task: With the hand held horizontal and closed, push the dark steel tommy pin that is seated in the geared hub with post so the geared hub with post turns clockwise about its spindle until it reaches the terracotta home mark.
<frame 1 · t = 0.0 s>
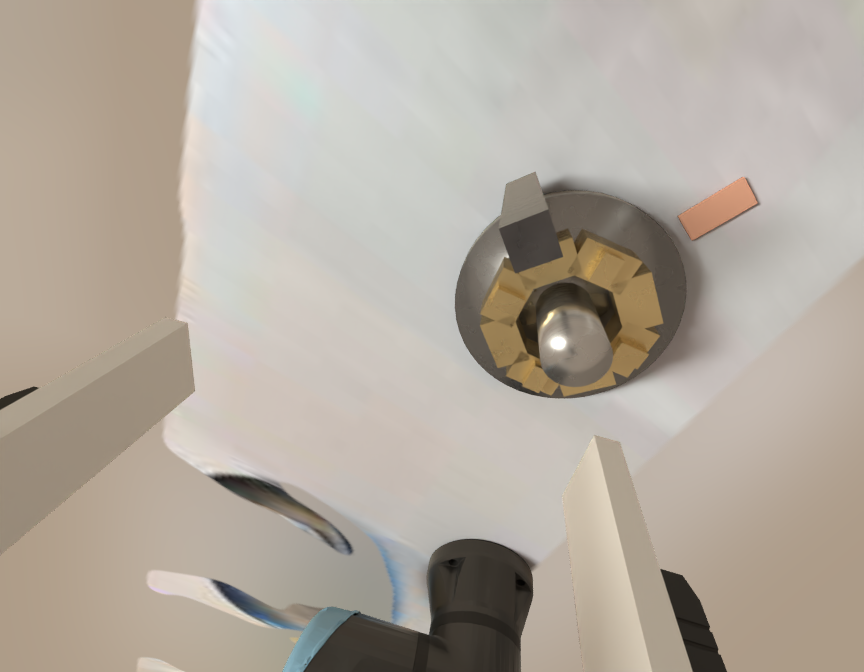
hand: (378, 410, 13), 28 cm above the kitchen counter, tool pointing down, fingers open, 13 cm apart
geared hub with post: (564, 322, 30), point 10 cm above the kitchen counter, hinge at 35.0°
home mark: (715, 209, 34), on the kitchen counter
flange: (561, 300, 39), on the kitchen counter
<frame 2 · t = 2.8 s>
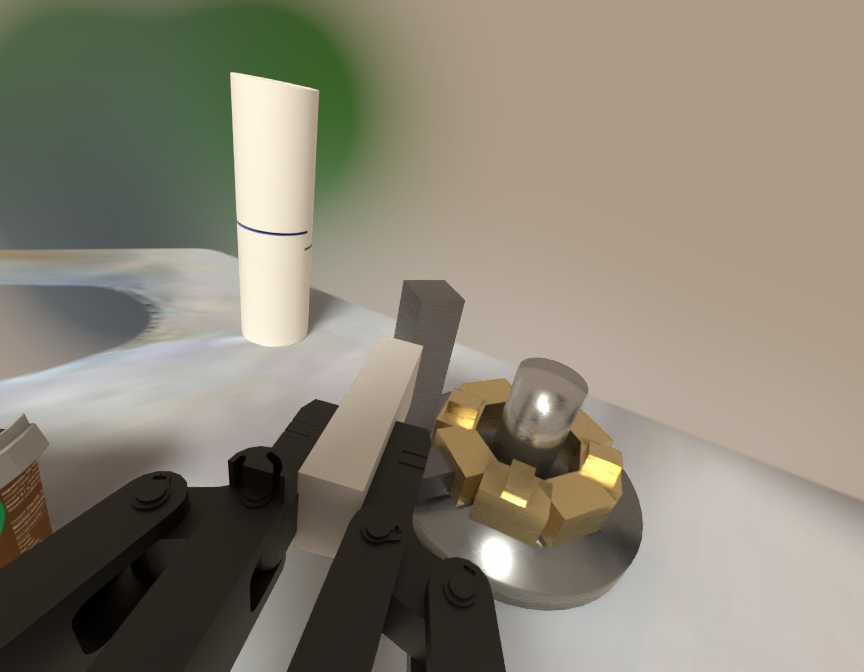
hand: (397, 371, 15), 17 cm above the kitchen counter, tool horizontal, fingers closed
geared hub with post: (520, 390, 29), point 10 cm above the kitchen counter, hinge at 35.0°
flange: (509, 482, 35), on the kitchen counter
cylindrical container: (275, 331, 48), on the kitchen counter
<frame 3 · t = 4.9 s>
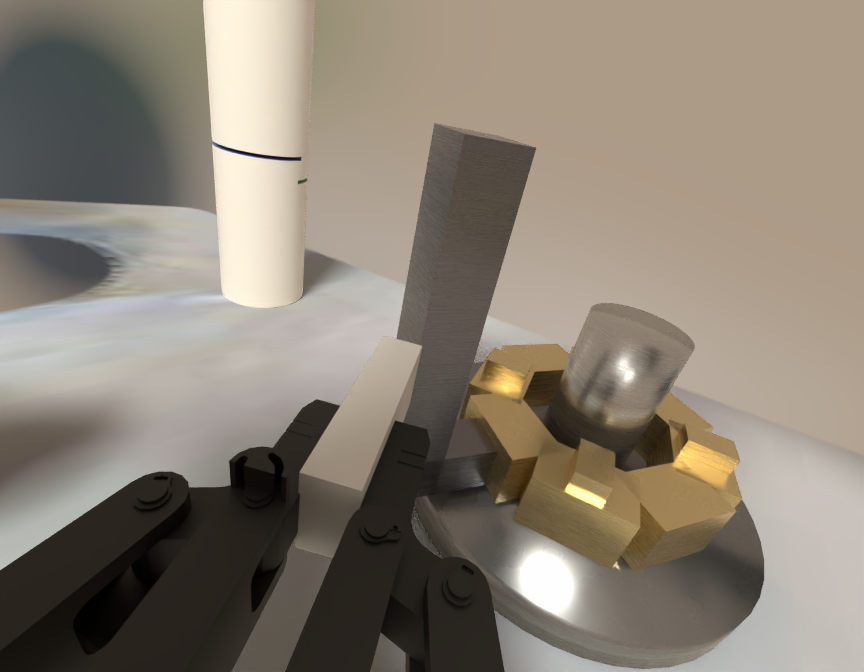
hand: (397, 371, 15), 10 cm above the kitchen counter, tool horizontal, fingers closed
geared hub with post: (594, 341, 20), point 10 cm above the kitchen counter, hinge at 31.9°, touching gripper
flange: (563, 477, 26), on the kitchen counter
cylindrical container: (263, 292, 40), on the kitchen counter
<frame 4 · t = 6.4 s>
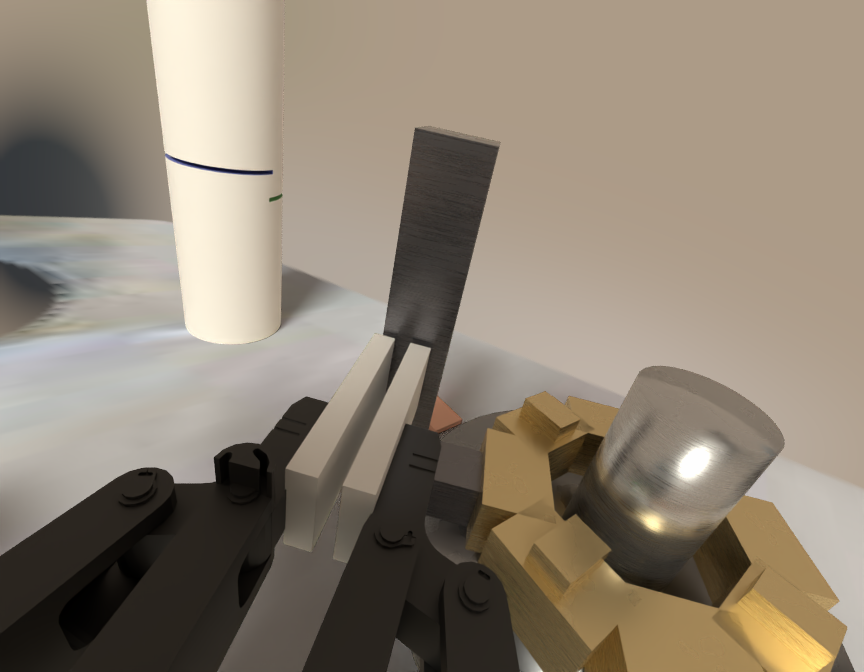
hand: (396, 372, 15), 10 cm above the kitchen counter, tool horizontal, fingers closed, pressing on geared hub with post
geared hub with post: (627, 404, 16), point 10 cm above the kitchen counter, hinge at 1.7°, touching gripper
home mark: (425, 407, 29), on the kitchen counter
flange: (593, 573, 21), on the kitchen counter
cylindrical container: (235, 323, 34), on the kitchen counter
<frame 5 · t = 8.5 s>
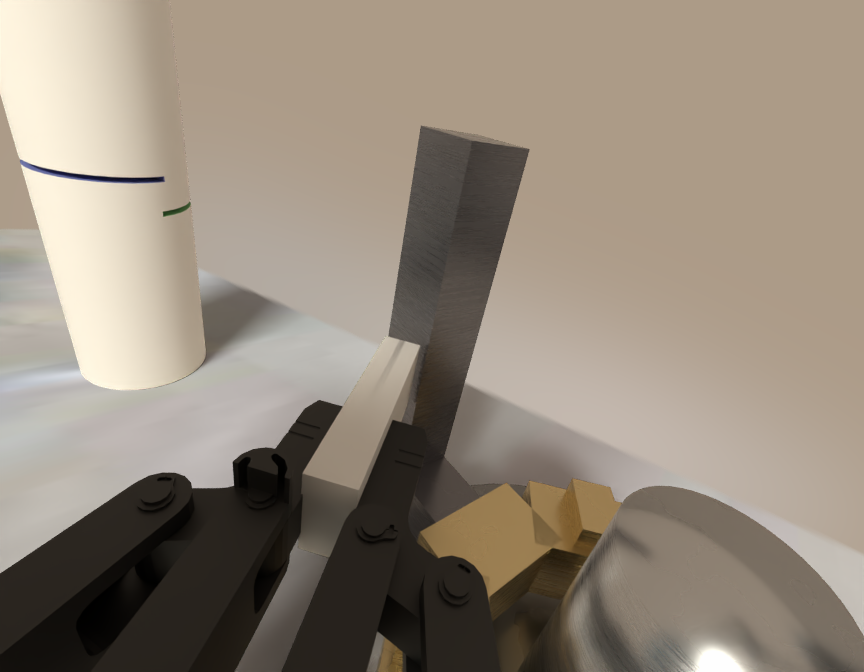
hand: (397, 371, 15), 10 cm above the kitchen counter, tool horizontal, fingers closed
geared hub with post: (613, 512, 11), point 10 cm above the kitchen counter, hinge at -40.6°, touching gripper
cylindrical container: (147, 359, 28), on the kitchen counter
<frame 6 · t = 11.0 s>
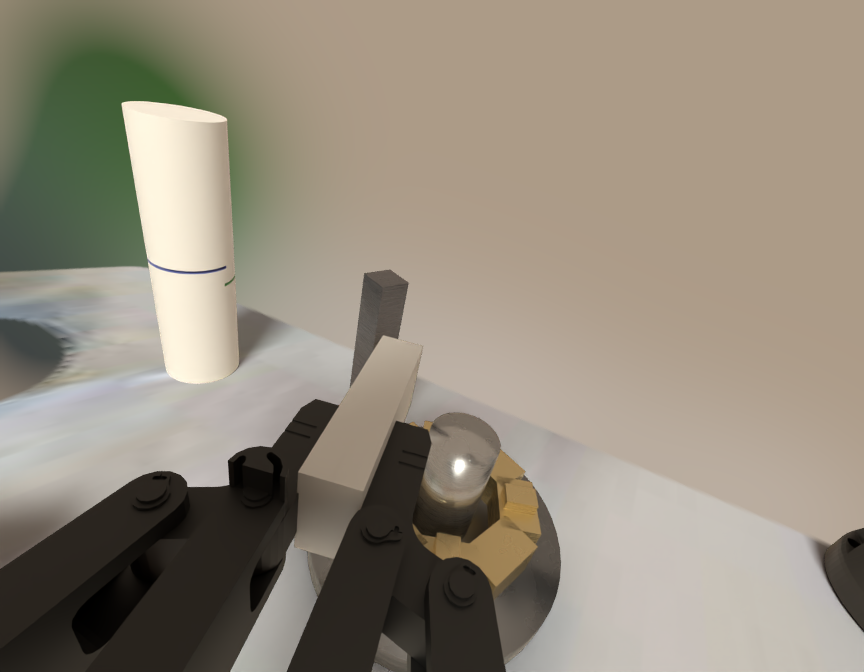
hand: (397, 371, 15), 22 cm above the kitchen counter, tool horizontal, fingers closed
geared hub with post: (438, 422, 30), point 10 cm above the kitchen counter, hinge at -40.6°
flange: (433, 531, 34), on the kitchen counter
cylindrical container: (203, 364, 46), on the kitchen counter
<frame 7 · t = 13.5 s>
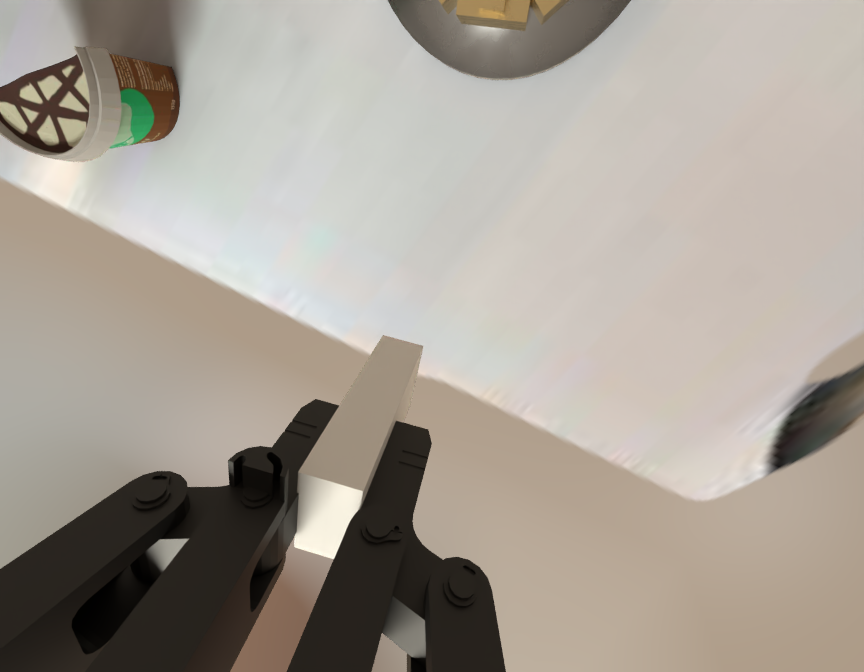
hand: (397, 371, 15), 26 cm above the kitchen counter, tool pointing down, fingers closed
food container: (150, 118, 39), on the kitchen counter
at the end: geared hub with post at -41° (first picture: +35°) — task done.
